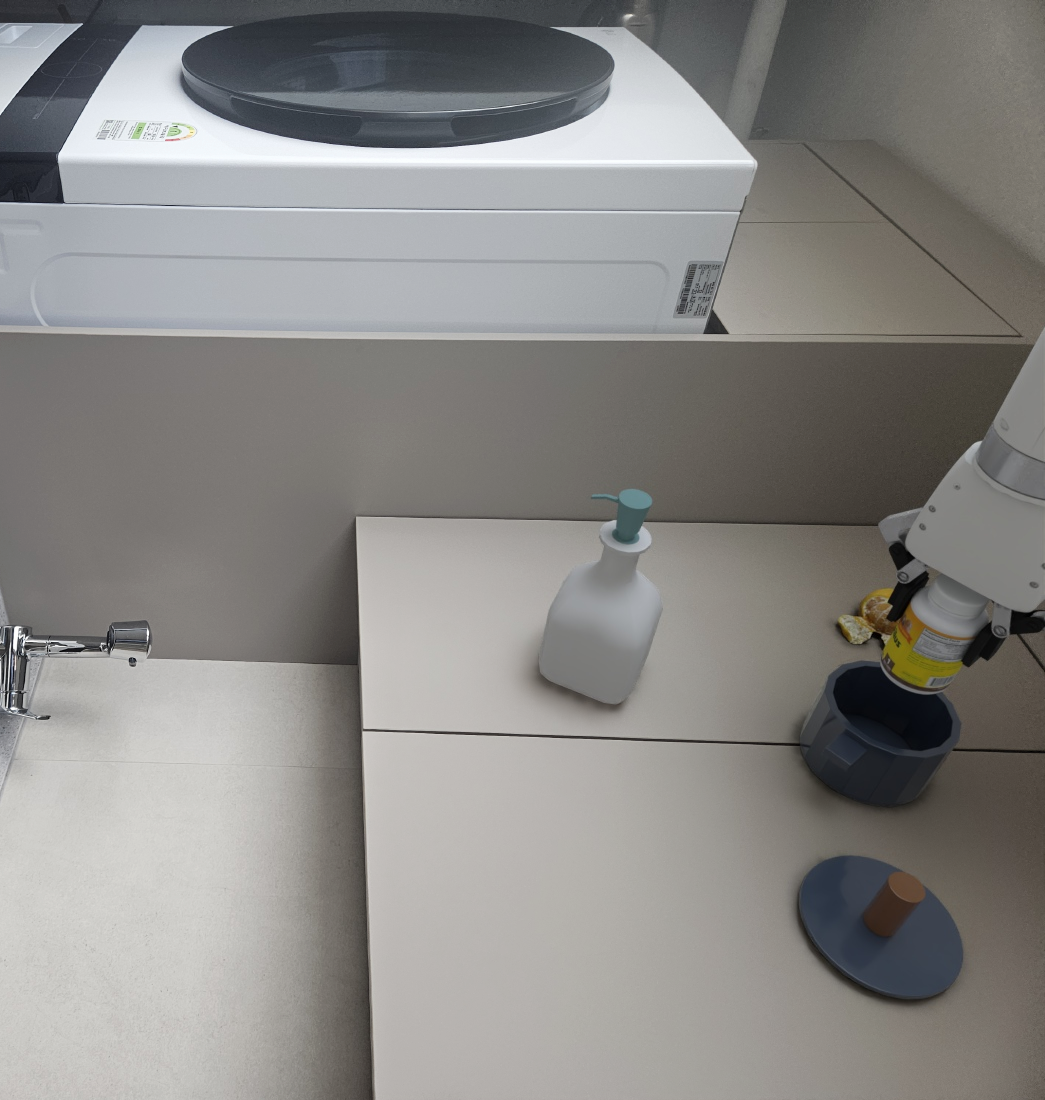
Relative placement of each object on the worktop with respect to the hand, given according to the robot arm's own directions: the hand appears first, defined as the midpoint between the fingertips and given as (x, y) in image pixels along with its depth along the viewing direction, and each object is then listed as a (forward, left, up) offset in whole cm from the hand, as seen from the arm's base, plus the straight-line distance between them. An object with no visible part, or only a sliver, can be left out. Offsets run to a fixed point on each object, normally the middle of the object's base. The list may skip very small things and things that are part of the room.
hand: (935, 634), depth 79 cm
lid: (-10, +15, -16) cm, 24 cm away
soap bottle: (+23, +12, -17) cm, 31 cm away
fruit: (+8, -17, -17) cm, 25 cm away
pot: (0, 0, -17) cm, 17 cm away
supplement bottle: (0, 0, -5) cm, 5 cm away
